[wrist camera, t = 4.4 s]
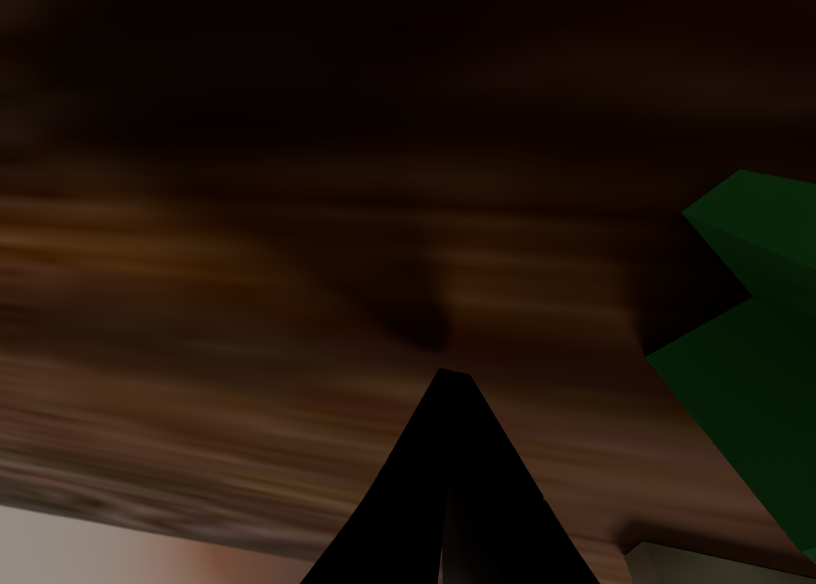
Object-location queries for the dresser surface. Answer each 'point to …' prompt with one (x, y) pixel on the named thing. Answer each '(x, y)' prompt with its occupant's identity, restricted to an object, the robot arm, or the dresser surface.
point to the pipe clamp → (758, 345)
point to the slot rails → (698, 568)
